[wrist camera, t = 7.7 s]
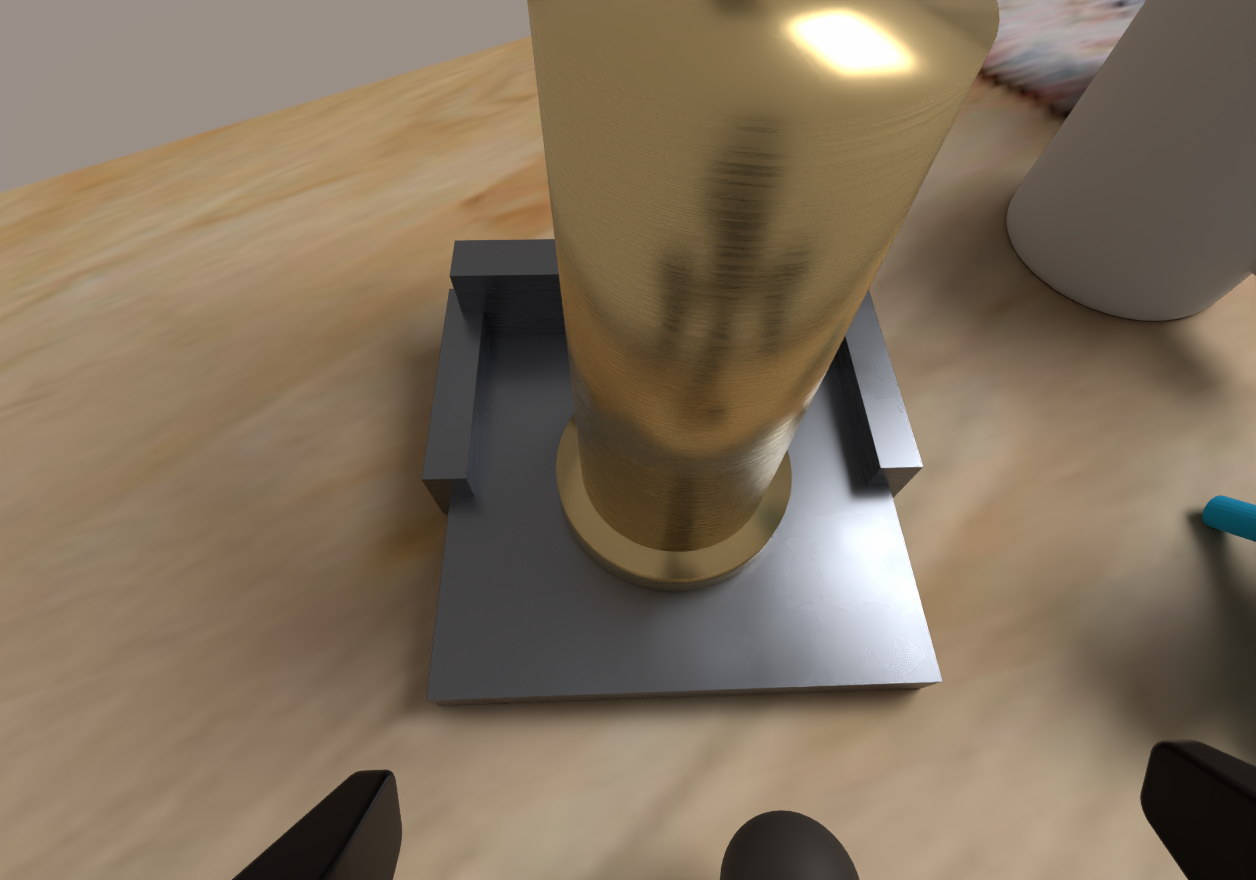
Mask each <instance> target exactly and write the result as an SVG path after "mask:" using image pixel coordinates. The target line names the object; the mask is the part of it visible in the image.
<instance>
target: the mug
mask: <svg viewBox="0 0 1256 880" xmlns="http://www.w3.org/2000/svg"><path fill="white" fill-rule="evenodd" d="M1007 229H1008V235H1009V237H1010V240H1011V243H1012V245H1013V247H1014V249H1015V250H1016V252H1017V254H1018V255H1019V257H1020V258H1021V259H1022V261H1023V262H1024V263H1025V264H1026V265H1027V266H1028V268H1029V269H1030V270H1031V271H1032V272H1033V273H1034V274H1035V275H1037V276H1038V277H1039V278H1040V279H1041V280H1042V281H1044V282H1045V283H1046V284H1048V285H1049V286H1050V287H1052V288H1053V289H1054V290H1056V291H1058V292H1059V293H1061V294H1063V295H1064V296H1066V297H1068V298H1070V299H1072V300H1074V301H1076V302H1078V303H1080V304H1082V305H1084V306H1087V307H1089V308H1092V309H1094V310H1097V311H1100V312H1103V313H1106V314H1110V315H1114V316H1118V317H1122V318H1128V319H1135V320H1146V321H1161V320H1172V319H1178V318H1183V317H1187V316H1190V315H1193V314H1196V313H1198V312H1200V311H1202V310H1204V309H1205V308H1207V307H1209V306H1211V305H1213V304H1214V303H1215V302H1217V301H1218V300H1220V299H1221V298H1222V297H1223V296H1225V295H1226V294H1227V293H1228V292H1230V291H1231V290H1232V289H1233V288H1235V287H1236V286H1237V285H1238V284H1240V283H1241V282H1242V281H1243V280H1245V279H1246V278H1247V277H1248V276H1250V275H1251V274H1252V273H1253V274H1254V275H1256V0H1146V1H1145V3H1144V4H1143V6H1142V7H1141V9H1140V10H1139V12H1138V13H1137V15H1136V16H1135V18H1134V19H1133V21H1132V22H1131V24H1130V25H1129V27H1128V28H1127V30H1126V31H1125V33H1124V34H1123V35H1122V37H1121V38H1120V40H1119V41H1118V43H1117V44H1116V46H1115V47H1114V49H1113V50H1112V52H1111V53H1110V55H1109V56H1108V58H1107V59H1106V61H1105V62H1104V64H1103V65H1102V67H1101V68H1100V70H1099V71H1098V73H1097V74H1096V76H1095V77H1094V78H1093V80H1092V81H1091V83H1090V84H1089V86H1088V87H1087V89H1086V90H1085V92H1084V93H1083V95H1082V96H1081V98H1080V99H1079V101H1078V102H1077V104H1076V105H1075V107H1074V108H1073V110H1072V111H1071V113H1070V114H1069V115H1068V117H1067V118H1066V120H1065V121H1064V123H1063V124H1062V126H1061V127H1060V129H1059V130H1058V132H1057V133H1056V134H1055V136H1054V137H1053V139H1052V140H1051V142H1050V143H1049V145H1048V146H1047V147H1046V149H1045V150H1044V152H1043V153H1042V154H1041V156H1040V157H1039V159H1038V160H1037V161H1036V163H1035V164H1034V166H1033V167H1032V168H1031V170H1030V171H1029V173H1028V174H1027V175H1026V177H1025V178H1024V180H1023V181H1022V183H1021V184H1020V186H1019V187H1018V189H1017V191H1016V192H1015V194H1014V196H1013V198H1012V200H1011V202H1010V204H1009V207H1008V212H1007Z"/></svg>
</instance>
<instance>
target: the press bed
mask: <svg viewBox="0 0 1256 880" xmlns="http://www.w3.org/2000/svg"><path fill="white" fill-rule="evenodd" d="M450 278H451V281H452V284H453V287H454V289H449V295H448V302H447V309H446V316H445V323H444V330H443V337H442V343H441V350H440V357H439V364H438V371H437V378H436V385H435V391H434V398H433V405H432V412H431V419H430V426H429V433H428V439H427V446H426V453H425V460H424V467H423V474H422V481H423V482H424V484H425V485H426V487H427V489H428V490H429V492H430V493H431V495H432V496H433V498H434V499H435V501H436V503H437V504H438V506H439V507H440V509H441V510H442V512H443V513H448V522H447V530H446V539H445V547H444V556H443V564H442V573H441V581H440V589H439V598H438V606H437V615H436V623H435V632H434V640H433V649H432V657H431V666H430V674H429V682H428V691H427V699H426V700H427V701H429V702H431V703H434V704H436V705H438V706H445V705H473V704H500V703H527V702H555V701H582V700H609V699H637V698H664V697H691V696H719V695H746V694H773V693H801V692H828V691H855V690H883V689H910V688H924V687H927V686H930V685H933V684H936V683H940V682H942V678H941V674H940V671H939V667H938V663H937V660H936V656H935V652H934V649H933V645H932V641H931V638H930V634H929V630H928V627H927V623H926V619H925V616H924V612H923V608H922V605H921V601H920V597H919V594H918V590H917V586H916V583H915V579H914V575H913V572H912V568H911V564H910V561H909V557H908V553H907V550H906V546H905V542H904V539H903V535H902V531H901V528H900V524H899V520H898V517H897V513H896V509H895V506H894V502H893V498H894V496H895V495H896V494H897V493H898V492H899V491H900V490H901V489H902V488H903V487H904V486H905V485H906V484H907V483H908V482H909V481H910V480H911V479H912V478H913V477H914V476H915V475H916V474H917V473H918V472H919V471H920V469H921V468H922V467H923V465H922V462H921V458H920V455H919V452H918V449H917V445H916V442H915V439H914V436H913V433H912V429H911V426H910V423H909V420H908V416H907V413H906V410H905V407H904V403H903V400H902V397H901V394H900V390H899V387H898V384H897V381H896V377H895V374H894V371H893V368H892V364H891V361H890V358H889V355H888V351H887V348H886V345H885V342H884V338H883V335H882V332H881V329H880V325H879V322H878V319H877V316H876V312H875V309H874V306H873V303H872V299H871V296H870V293H869V290H868V291H867V293H866V295H865V297H864V299H863V301H862V303H861V305H860V307H859V309H858V311H857V313H856V315H855V317H854V319H853V321H852V323H851V325H850V327H849V329H848V331H847V333H846V335H845V337H844V339H843V341H842V343H841V345H840V346H839V348H838V350H837V352H836V354H835V356H834V358H833V360H832V362H831V364H830V366H829V368H828V370H827V372H826V374H825V376H824V378H823V380H822V382H821V384H820V386H819V388H818V390H817V392H816V394H815V396H814V398H813V400H812V402H811V404H810V406H809V408H808V410H807V412H806V414H805V415H804V417H803V419H802V421H801V423H800V425H799V427H798V429H797V431H796V433H795V435H794V437H793V439H792V441H791V443H790V445H789V447H788V449H787V450H788V453H789V457H790V463H791V469H792V485H791V493H790V498H789V502H788V505H787V509H786V511H785V514H784V516H783V518H782V520H781V522H780V524H779V526H778V527H777V529H776V531H775V532H774V534H773V535H772V537H771V539H770V540H769V542H768V543H767V545H766V546H765V548H764V549H763V551H762V552H761V553H760V554H759V555H758V556H757V557H756V558H755V560H754V561H753V562H752V563H750V564H749V565H748V566H747V567H746V568H744V569H743V570H742V571H740V572H739V573H737V574H735V575H734V576H732V577H731V578H729V579H727V580H724V581H722V582H720V583H717V584H715V585H712V586H708V587H705V588H701V589H695V590H688V591H663V590H655V589H650V588H646V587H642V586H638V585H635V584H633V583H630V582H628V581H625V580H623V579H621V578H619V577H617V576H615V575H614V574H612V573H610V572H608V571H607V570H606V569H604V568H603V567H602V566H600V565H599V564H598V563H596V562H595V561H594V560H593V559H592V558H591V557H590V556H589V555H588V554H587V553H586V552H585V551H584V549H583V548H582V547H581V546H580V544H579V543H578V542H577V540H576V539H575V537H574V535H573V533H572V532H571V530H570V528H569V526H568V523H567V521H566V518H565V516H564V512H563V508H562V504H561V500H560V495H559V490H558V485H557V475H556V462H557V453H558V448H559V443H560V440H561V438H562V435H563V432H564V430H565V428H566V426H567V424H568V422H569V420H570V418H571V417H572V416H573V414H574V413H575V410H574V402H573V393H572V384H571V375H570V367H569V358H568V349H567V341H566V332H565V323H564V315H563V306H562V297H561V288H560V280H559V271H558V262H557V254H556V245H555V239H541V240H467V241H455V244H454V251H453V257H452V264H451V271H450Z"/></svg>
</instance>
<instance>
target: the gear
mask: <svg viewBox="0 0 1256 880" xmlns="http://www.w3.org/2000/svg"><path fill="white" fill-rule="evenodd" d="M1203 522H1204V523H1205V524H1206V525H1207V526H1210V527H1213V528H1216V529H1219V530H1222V531H1225V532H1228V533H1231V534H1234V535H1237V536H1240V537H1243V538H1246V539H1249V540H1252V541H1255V542H1256V505H1253V504H1250V503H1246V502H1243V501H1239V500H1236V499H1232V498H1229V497H1225V496H1216V497H1214V498H1213V499H1211V500H1210V501H1209V502H1208V504H1207V505H1206V507H1205V508H1204V511H1203Z"/></svg>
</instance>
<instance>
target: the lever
mask: <svg viewBox="0 0 1256 880" xmlns="http://www.w3.org/2000/svg"><path fill="white" fill-rule="evenodd" d="M720 880H859V877H858V874H857V871H856V869H855V866H854V864H853V862H852V860H851V858H850V857H849V855H848V853H847V851H846V850H845V849H844V847H843V846H842V844H841V843H840V842H839V841H838V840H837V838H836V837H835V836H834V835H833V834H832V833H831V832H830V831H829V830H828V829H827V828H825V827H824V826H823V825H821V824H820V823H818V822H817V821H815V820H813V819H811V818H810V817H807V816H805V815H802V814H800V813H796V812H792V811H782V810H780V811H771V812H766V813H763V814H760V815H758V816H755V817H754V818H752V819H750V820H749V821H747V822H746V823H745V824H744V825H743V826H742V827H741V828H740V829H739V830H738V831H737V832H736V833H735V835H734V836H733V838H732V839H731V841H730V843H729V845H728V847H727V849H726V852H725V855H724V858H723V862H722V866H721V874H720Z"/></svg>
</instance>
